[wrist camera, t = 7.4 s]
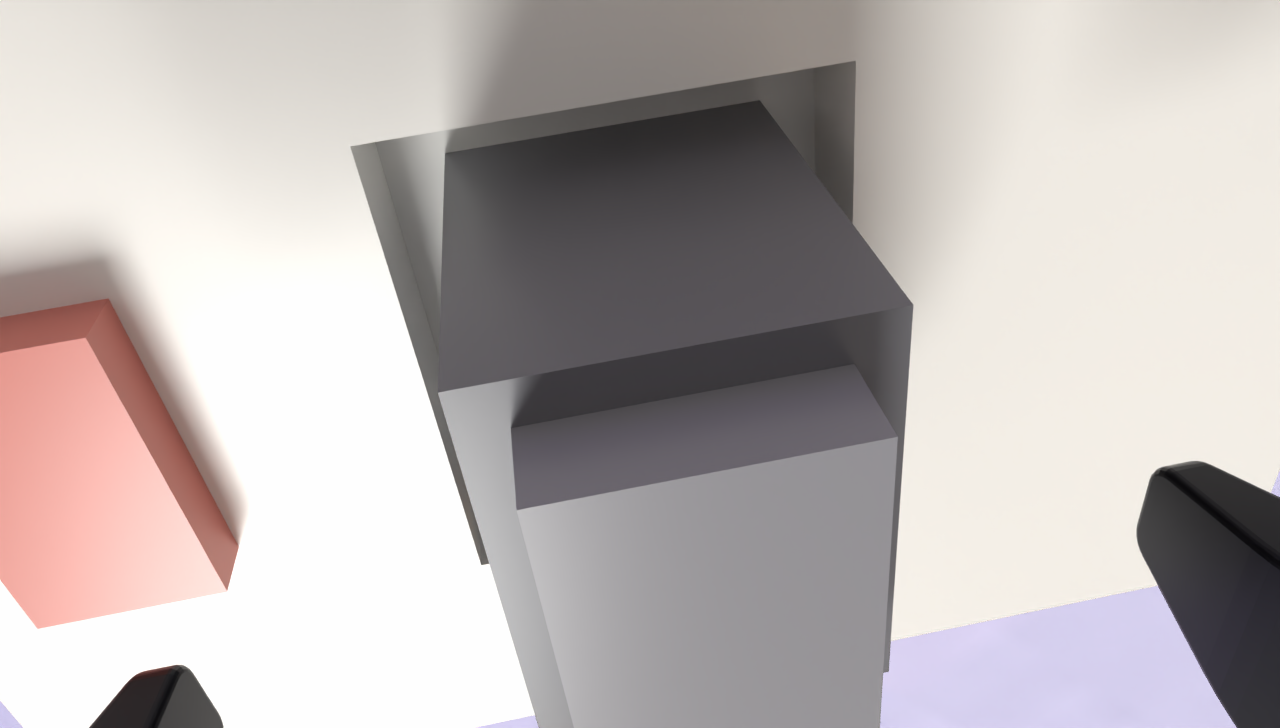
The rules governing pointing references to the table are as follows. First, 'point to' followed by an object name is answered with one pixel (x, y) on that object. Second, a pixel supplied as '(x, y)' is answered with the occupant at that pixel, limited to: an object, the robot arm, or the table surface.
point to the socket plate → (411, 291)
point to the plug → (677, 422)
